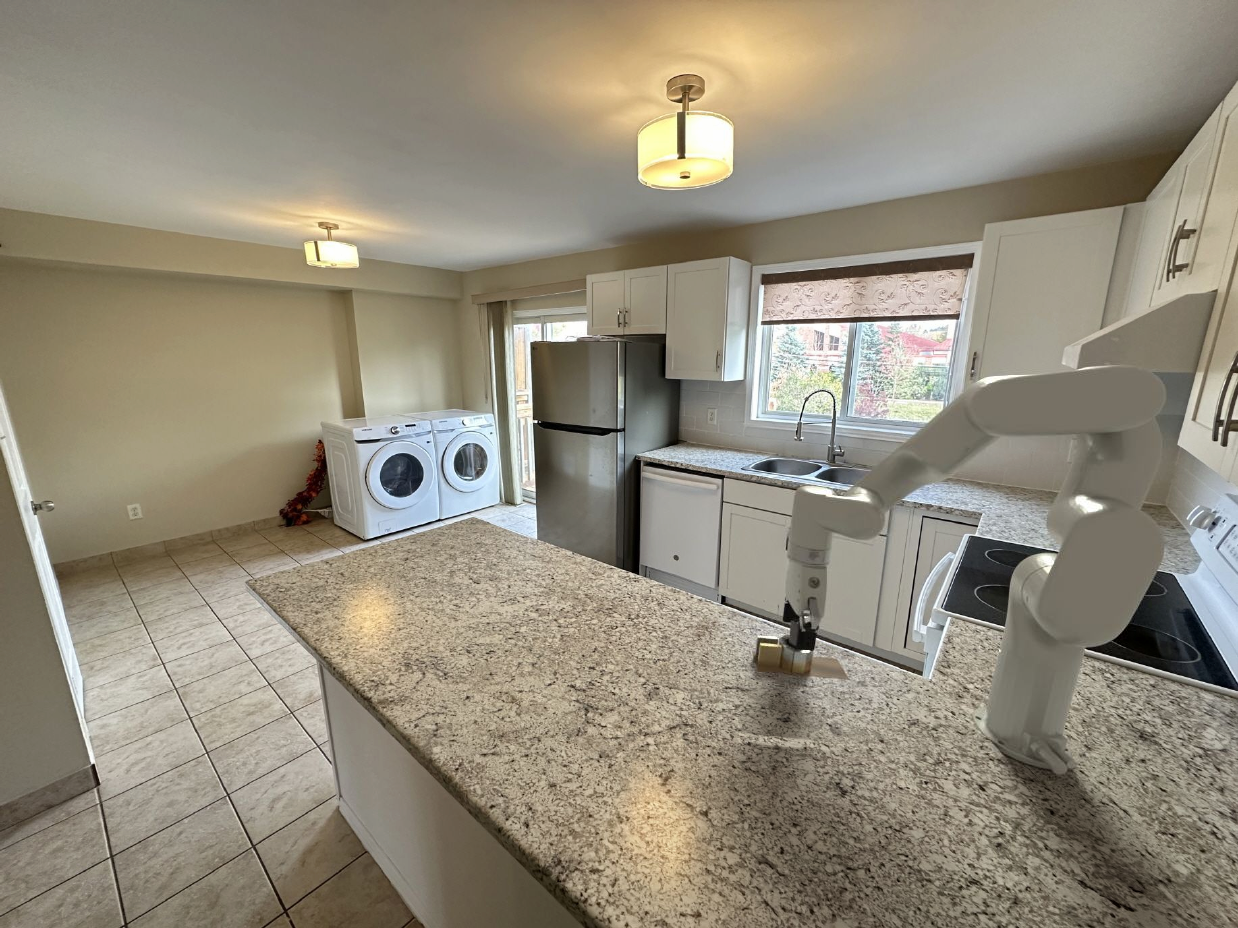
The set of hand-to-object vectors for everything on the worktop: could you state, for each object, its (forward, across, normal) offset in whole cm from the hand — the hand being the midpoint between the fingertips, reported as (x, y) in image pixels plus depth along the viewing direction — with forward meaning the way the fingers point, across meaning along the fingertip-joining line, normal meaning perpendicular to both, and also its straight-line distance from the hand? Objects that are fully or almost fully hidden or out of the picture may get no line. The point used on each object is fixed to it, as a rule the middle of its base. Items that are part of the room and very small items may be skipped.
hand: (797, 635), depth 93 cm
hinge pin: (+6, 0, 0) cm, 6 cm away
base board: (+7, 0, -1) cm, 7 cm away
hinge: (+6, 0, +2) cm, 7 cm away
